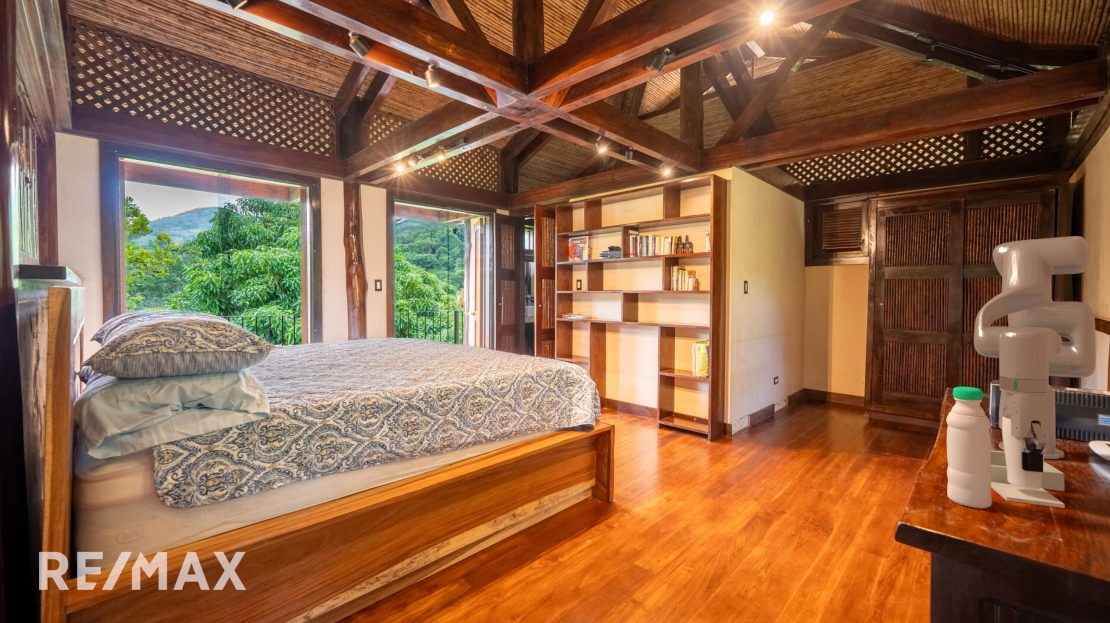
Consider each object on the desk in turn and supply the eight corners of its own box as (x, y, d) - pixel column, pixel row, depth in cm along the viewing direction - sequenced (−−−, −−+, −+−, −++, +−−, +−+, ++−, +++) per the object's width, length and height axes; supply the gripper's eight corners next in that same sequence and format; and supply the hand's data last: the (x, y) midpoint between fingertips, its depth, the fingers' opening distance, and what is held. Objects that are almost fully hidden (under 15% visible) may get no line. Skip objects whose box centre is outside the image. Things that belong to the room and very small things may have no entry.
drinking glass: (1056, 492, 95) (1055, 423, 95) (1018, 490, 96) (1017, 422, 96) (1029, 480, 102) (1028, 415, 101) (994, 478, 103) (993, 414, 103)
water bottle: (980, 512, 92) (979, 392, 92) (940, 499, 98) (938, 387, 98) (998, 505, 95) (997, 389, 94) (957, 492, 101) (956, 383, 101)
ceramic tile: (988, 485, 105) (988, 481, 105) (1041, 491, 101) (1041, 487, 101) (1006, 500, 97) (1006, 497, 97) (1064, 508, 93) (1064, 504, 93)
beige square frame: (960, 462, 119) (960, 447, 119) (1032, 469, 113) (1032, 454, 113) (982, 481, 107) (982, 465, 107) (1064, 491, 101) (1064, 473, 101)
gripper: (984, 378, 108) (985, 451, 108) (1019, 391, 92) (1020, 477, 93) (1026, 379, 105) (1027, 455, 105) (1070, 394, 89) (1071, 482, 89)
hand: (1024, 464), depth 99 cm, fingers closed on drinking glass, 6 cm apart
